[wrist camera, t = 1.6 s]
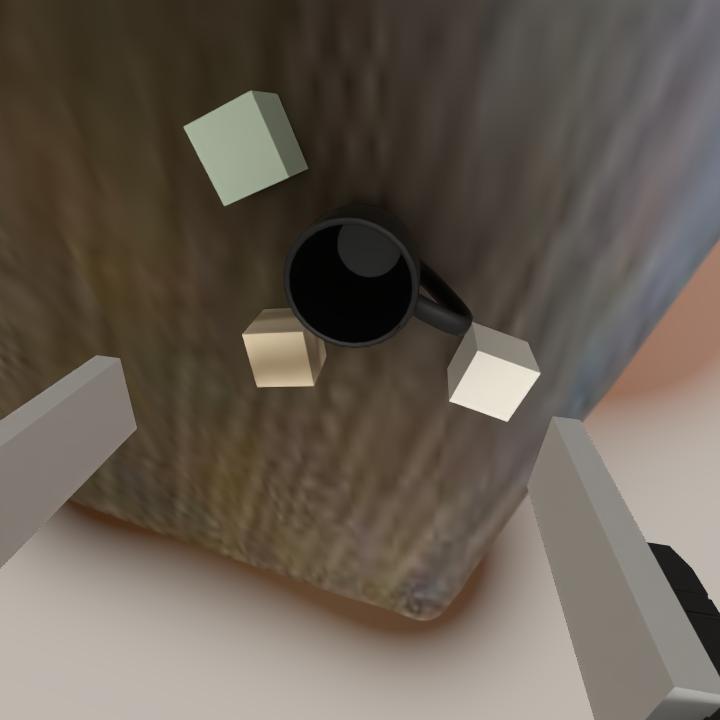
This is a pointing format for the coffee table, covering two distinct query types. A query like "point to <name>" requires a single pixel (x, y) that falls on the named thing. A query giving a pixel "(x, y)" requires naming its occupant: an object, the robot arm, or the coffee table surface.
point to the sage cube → (246, 145)
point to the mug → (365, 280)
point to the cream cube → (491, 372)
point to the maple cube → (283, 350)
